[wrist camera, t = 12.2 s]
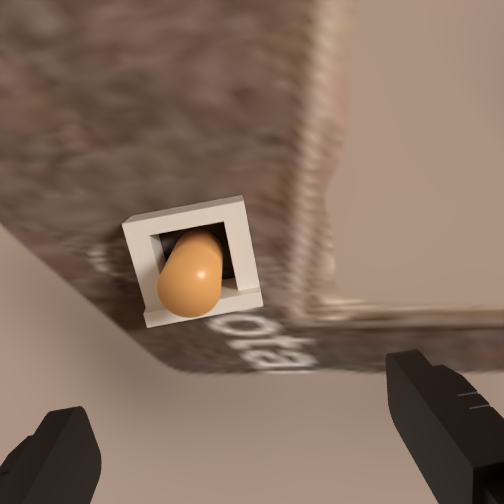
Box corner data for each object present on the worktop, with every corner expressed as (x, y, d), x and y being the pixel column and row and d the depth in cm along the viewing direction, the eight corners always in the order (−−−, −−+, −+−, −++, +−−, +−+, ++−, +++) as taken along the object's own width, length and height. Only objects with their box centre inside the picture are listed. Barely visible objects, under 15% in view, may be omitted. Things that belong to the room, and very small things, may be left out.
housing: (131, 215, 31) (117, 227, 27) (242, 194, 31) (244, 203, 27) (156, 305, 33) (147, 327, 29) (259, 286, 33) (263, 305, 29)
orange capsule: (169, 233, 31) (149, 265, 24) (217, 224, 31) (213, 253, 24) (181, 278, 32) (165, 322, 25) (227, 270, 32) (226, 311, 25)
